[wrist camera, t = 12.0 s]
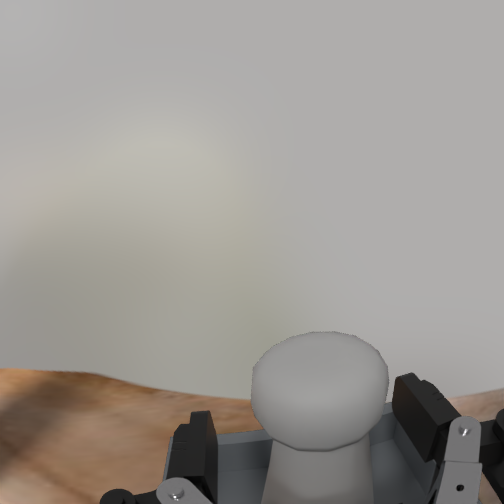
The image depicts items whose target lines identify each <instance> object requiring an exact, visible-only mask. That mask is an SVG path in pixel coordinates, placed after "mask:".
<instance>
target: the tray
mask: <svg viewBox="0 0 504 504" xmlns="http://www.w3.org/2000/svg"><path fill="white" fill-rule="evenodd" d="M216 435H217V440H218V504H261V501H262V497H263V492H264V487H265V483H266V478H267V473H268V468H269V463H270V457H271V451H272V444H273V440H272V438H271V437H270V436H269V434H268V433H267V432H266V431H265V429H263V430H256V431H247V432H238V433H228V434H216ZM369 441H370V453H371V466H372V481H373V501H374V504H399V503H403V504H424V502H425V500H426V496H427V493H428V490H429V486H430V482H431V479H432V475H433V471H434V467H435V464H436V462H435V460H431V461H429V462H427V463H425V462H424V461H423V459H422V458H421V456H420V454H419V453H418V451H417V450H416V448H415V447H414V445H413V443H412V442H411V440H410V439H409V437H408V436H407V434H406V432H405V431H404V429H403V428H402V426H401V425H400V423H399V422H398V420H397V419H396V417H395V415H394V413H393V410H392V402H389V403H386V404H385V405H384V409H383V412H382V416H381V419H380V420H379V422H378V423H377V425H376V426H375V427H374V428H373V429H372V430H371V431H370V432H369ZM172 444H173V437H171V438H170V443H169V448H168V454H167V459H166V464H165V470H164V476H163V481H165V480H166V477H167V471H168V465H169V459H170V453H171V448H172ZM163 481H162V482H163ZM477 504H482V503H481V502H480V500H479V499H478V501H477Z"/></svg>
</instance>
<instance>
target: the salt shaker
mask: <svg viewBox="0 0 504 504" xmlns="http://www.w3.org/2000/svg"><path fill="white" fill-rule="evenodd" d="M388 386H389V377H388V367H387V365H386V363H385V362H384V360H383V358H382V357H381V355H380V353H379V351H378V350H376V349H375V348H374V347H373V346H371V345H370V344H368V343H367V342H365V341H363V340H362V339H360V338H358V337H357V336H354V335H349V334H344V333H339V332H310V333H306V334H302V335H297V336H293V337H290V338H288V339H286V340H284V341H282V342H280V343H278V344H276V345H274V346H273V347H271V348H270V349H269V350H268V351H267V352H266V353H265V354H264V355H263V356H262V357H261V359H260V360H259V361H258V362H257V363H256V365H255V366H254V367H253V377H252V390H251V405H252V408H253V412H254V416H255V417H256V419H257V420H258V421H259V423H260V424H261V425H262V427H263V428H264V429H265V431H266V432H267V433H268V434H269V436H270V437H271V438H272V440H273V444H272V451H271V457H270V463H269V468H268V473H267V478H266V483H265V487H264V492H263V497H262V501H261V504H374V501H373V481H372V466H371V453H370V441H369V432H370V431H371V430H372V429H373V428H374V427H375V426H376V425H377V423H378V422H379V420H380V419H381V416H382V412H383V409H384V405H385V401H386V396H387V391H388Z"/></svg>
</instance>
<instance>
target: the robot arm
mask: <svg viewBox="0 0 504 504" xmlns="http://www.w3.org/2000/svg"><path fill="white" fill-rule="evenodd" d="M392 410H393V413H394V415H395V417H396V419H397V420H398V422H399V423H400V425H401V426H402V428H403V429H404V431H405V432H406V434H407V436H408V437H409V439H410V440H411V442H412V443H413V445H414V447H415V448H416V450H417V451H418V453H419V454H420V456H421V458H422V459H423V461H424V462H425V463H427V462H429V461H431V460H435V462H436V464H435V467H434V471H433V475H432V479H431V482H430V486H429V490H428V493H427V496H426V500H425V502H424V504H477V501H478V495H479V488H480V481H481V472H483V474H484V475H485V477H486V478H487V480H488V481H489V483H490V485H491V486H492V488H493V489H494V491H495V492H496V494H497V496H498V497H499V499H500V500H501V502H502V504H504V409H502V410H500V411H499V412H498V414H497V416H496V418H495V420H490V421H485V422H478V421H477V420H476V419H475V418H473V417H469V416H461V415H460V414H459V413H458V411H457V410H456V409H455V408H454V407H453V406H452V405H451V404H450V402H449V401H448V400H447V399H446V398H444V396H443V395H442V393H440V392H439V390H438V389H437V388H436V387H435V386H434V385H433V384H431V383H430V382H428V381H426V380H422V381H420V380H419V379H418V377H417V376H416V375H415V374H414V373H408V374H405V375H402V376H399V377H396V379H395V385H394V392H393V398H392ZM100 504H218V440H217V435H216V431H215V428H214V424H213V421H212V417H211V413H210V411H197V412H191V417H190V424H180V426H179V427H178V428H177V430H176V431H175V432H174V436H173V444H172V448H171V453H170V459H169V465H168V471H167V477H166V480H165V481H163V482H162V483H161V484H160V485H159V486H158V488H157V489H156V490H154V491H152V492H148V493H143V494H138V495H133V494H132V493H131V492H129V491H127V490H124V489H113V490H110V491H108V492H107V493H105V494H104V495H103V496H102V498H101V500H100ZM399 504H403V503H399Z"/></svg>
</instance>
